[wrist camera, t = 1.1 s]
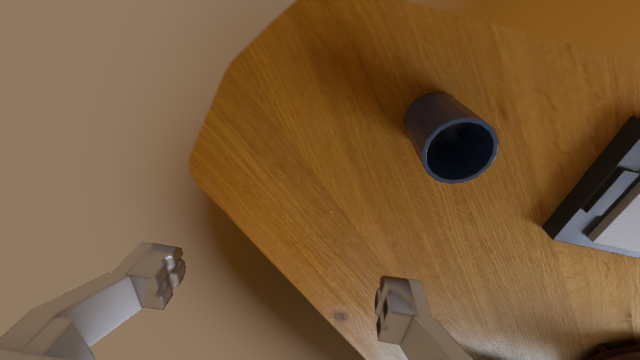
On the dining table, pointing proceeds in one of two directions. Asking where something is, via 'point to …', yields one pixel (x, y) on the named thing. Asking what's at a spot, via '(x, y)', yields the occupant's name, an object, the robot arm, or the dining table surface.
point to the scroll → (618, 353)
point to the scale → (605, 200)
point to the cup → (450, 138)
